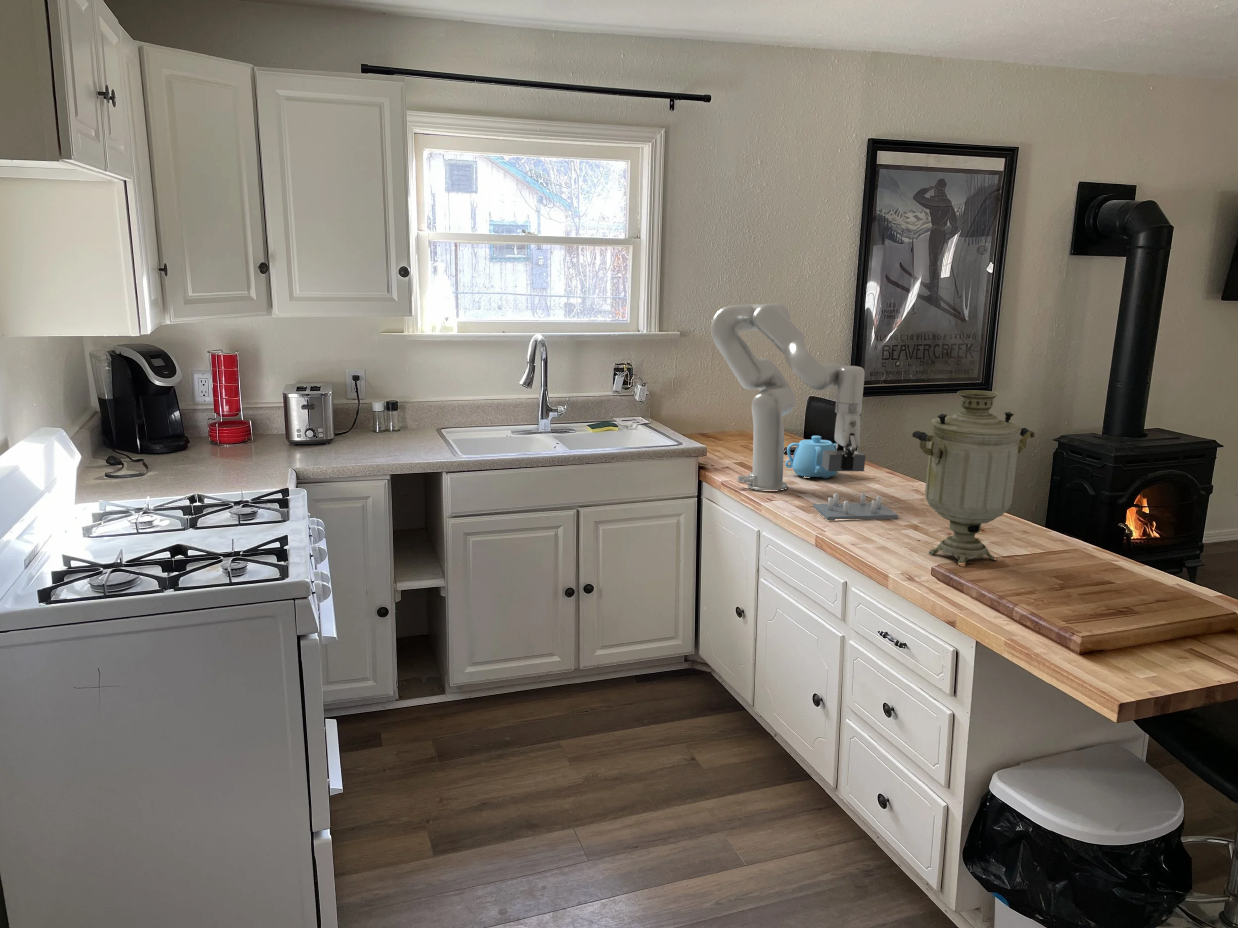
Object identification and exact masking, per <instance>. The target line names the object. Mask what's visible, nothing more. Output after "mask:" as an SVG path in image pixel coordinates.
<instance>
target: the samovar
mask: <svg viewBox="0 0 1238 928" xmlns="http://www.w3.org/2000/svg"><path fill="white" fill-rule="evenodd" d="M957 394H958V395H959V396H960V397H961V402H960V406H961V407H962V409H963V410H962V411H959V412H956V413H954V414H953V415H947V414H944V413H941V414H938V415H937V416H936V417H934V418H932V419H931V420H930V421H929V423H930V424H931V430H932V434H931V435H930V434H928V433H926V432H924V431H920V430H914V431H913V432H912V434H911V436H912V437H913V438H915V439H918V441H919V445H918V446H919V449H920V450H921V451H922V453H923V454H925V455H927V456H928V460H927V468H926V479H925V489H924V496H925V500H926V502H927V504H928V506H929V507H930V508H931V509H932V510H934V511H935V512H936V513H937V514H938V515H939V516H940V517H942V518H943V519H946V520H948V521H949V524H948V526H949V527H948V528H949V530H950V531H952V532H953V535H949V536H947V537H946V538H945V539H942V541H940V543H939V544H938V545H937V546H936V547H934V548H931V549H930V550H929V551H928V555H930V556H932V555H934V554H937V553H938V552H940V551H941V552H942V553H943V554H945V555H948V556H950V555H953V556H954V557H955V558H956V559H957V560H958V561H957V562H956V564H957V563H966V564H967V562H968V560H971V559H974V558H975V559H979V558H980V557H981V558H982V557H984V556H986V557H987V558H988V559H991V560H993V559H994V558H996V557H995V556H994V555H992V554H991V553H990V551H989V548H987V546H986V545H985V544H983V543H982V541H981V540H980V539H979V538H976V534H979V533H980V532H981V528H982V527H981V526H982V524H988V523H990V522H992V521H994V520H995V519H997V518H999V517H1002V516H1003V515H1004V514H1005V513H1006V512H1007V511H1008V510H1009V509H1010V507H1011V505H1012V502H1013V494H1014V486H1015V478H1016V477H1015V476H1016V470H1017V463H1018V455H1019V453H1021V452H1022V451H1023V450H1024V449H1026V446H1027V442H1028V439H1030V438H1031V439H1032V438H1033V439H1034V438H1035V435H1036V433H1035V432H1034V431H1031V430H1029V429H1028V428H1026V427H1021V426H1019V425H1018V424H1016V423H1013V422H1011V421H1010V420H1011V417H1013V416H1015V415H1014V413H1013V412H1011V411H1005V412H1004V415H1005V417H1004V419H1005V420H1003V419H999V417H998V416H996V415H994V414H993V413H990V410H991V409H992V408H993V405H994V401H995V400H994V399H995V398H996V397H998V396H999V394H998V392H995V391H988V390H977V389H975V390H974V389H973V390H972V389H970V390H969V389H968V390H966V389H965V390H959V391H957ZM1020 436H1021V437H1022V438H1020V439H1019V437H1020ZM1018 439H1019V444H1018V445H1017V441H1018ZM927 442H929V447H927Z"/></svg>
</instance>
